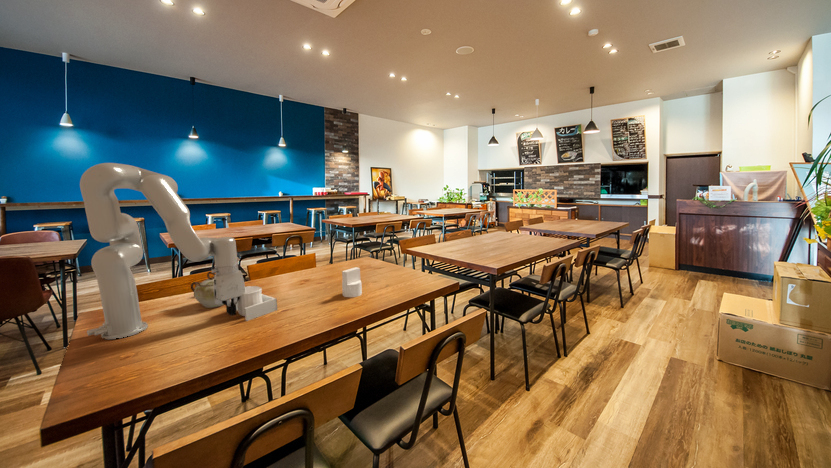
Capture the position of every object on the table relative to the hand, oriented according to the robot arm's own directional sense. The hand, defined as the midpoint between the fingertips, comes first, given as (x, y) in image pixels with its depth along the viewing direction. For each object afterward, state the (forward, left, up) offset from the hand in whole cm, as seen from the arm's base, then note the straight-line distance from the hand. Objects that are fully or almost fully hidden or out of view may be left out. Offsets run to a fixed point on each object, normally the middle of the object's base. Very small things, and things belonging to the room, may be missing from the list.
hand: (231, 314), depth 127 cm
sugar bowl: (+4, +22, -2) cm, 22 cm away
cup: (+7, 0, -2) cm, 8 cm away
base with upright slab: (+46, -20, -2) cm, 50 cm away
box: (+8, 0, -2) cm, 8 cm away
